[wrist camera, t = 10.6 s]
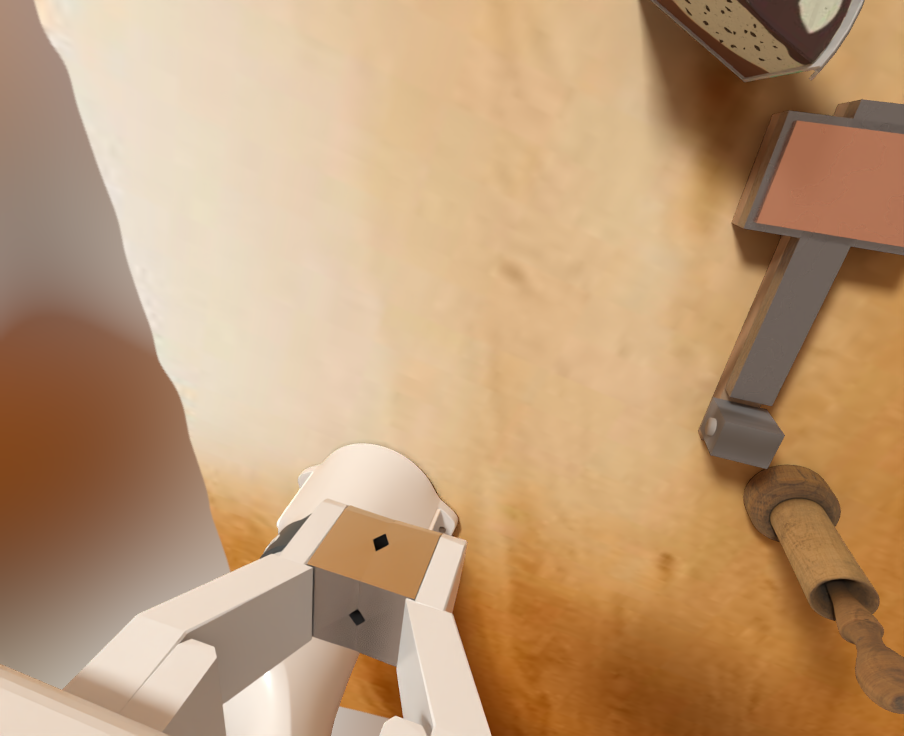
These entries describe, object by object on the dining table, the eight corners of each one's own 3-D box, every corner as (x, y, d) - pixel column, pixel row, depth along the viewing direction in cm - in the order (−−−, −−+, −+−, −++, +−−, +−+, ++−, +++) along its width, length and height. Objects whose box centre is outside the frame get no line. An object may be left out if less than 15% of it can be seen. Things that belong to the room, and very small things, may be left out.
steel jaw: (814, 408, 37) (825, 420, 35) (678, 378, 38) (682, 388, 37) (971, 116, 28) (995, 114, 26) (787, 94, 30) (799, 90, 28)
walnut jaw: (778, 450, 40) (805, 490, 35) (656, 420, 42) (665, 455, 37) (954, 118, 29) (1026, 111, 25) (779, 97, 31) (814, 86, 26)
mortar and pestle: (733, 473, 42) (821, 666, 26) (819, 456, 40) (973, 657, 24) (753, 532, 44) (846, 746, 28) (836, 518, 41) (991, 745, 25)
